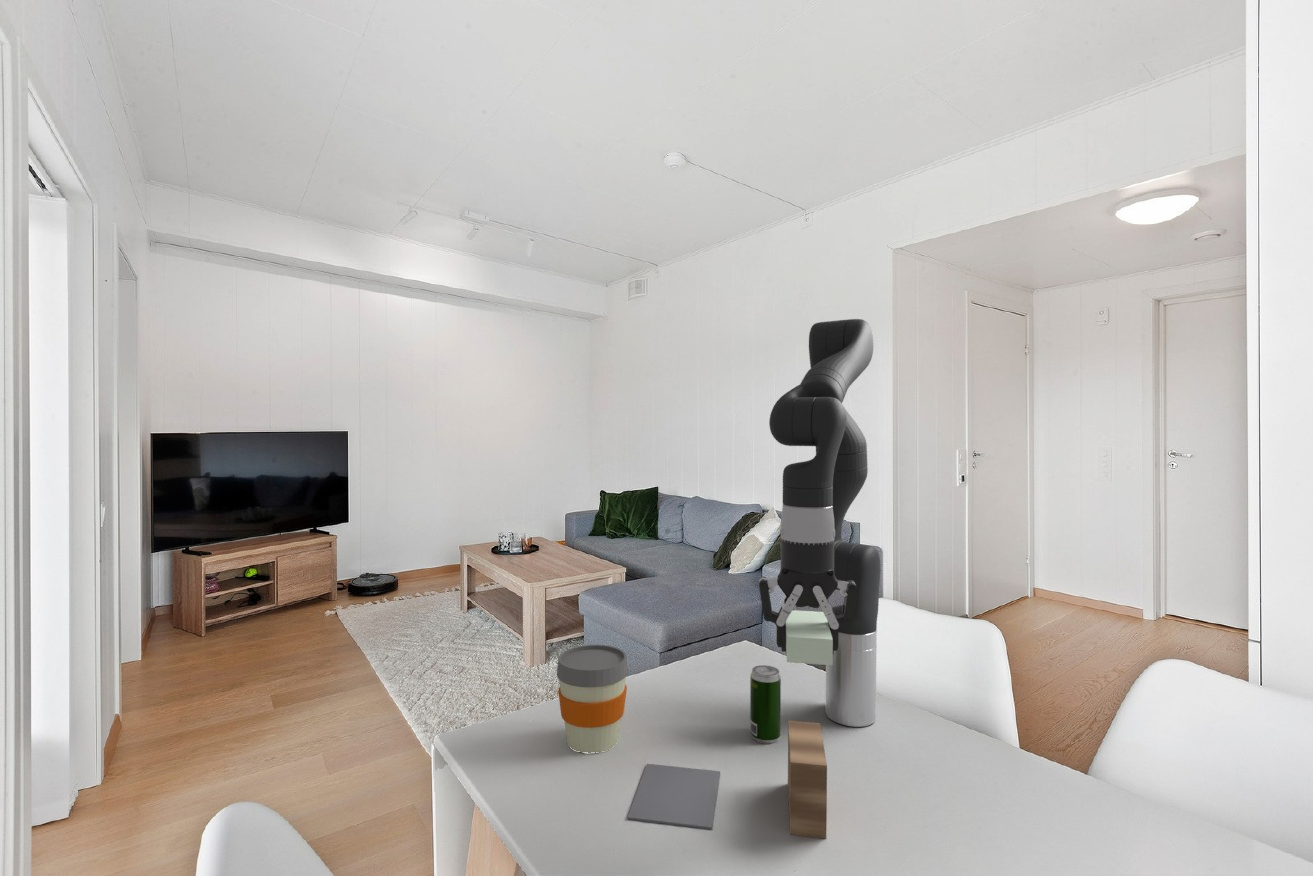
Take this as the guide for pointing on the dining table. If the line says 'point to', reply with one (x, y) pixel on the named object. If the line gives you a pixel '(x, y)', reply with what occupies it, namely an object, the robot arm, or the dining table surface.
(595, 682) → the reusable coffee cup
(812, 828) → the box
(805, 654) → the pale green block
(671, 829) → the dining table surface
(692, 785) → the mat
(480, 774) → the dining table surface
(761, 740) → the beer can
